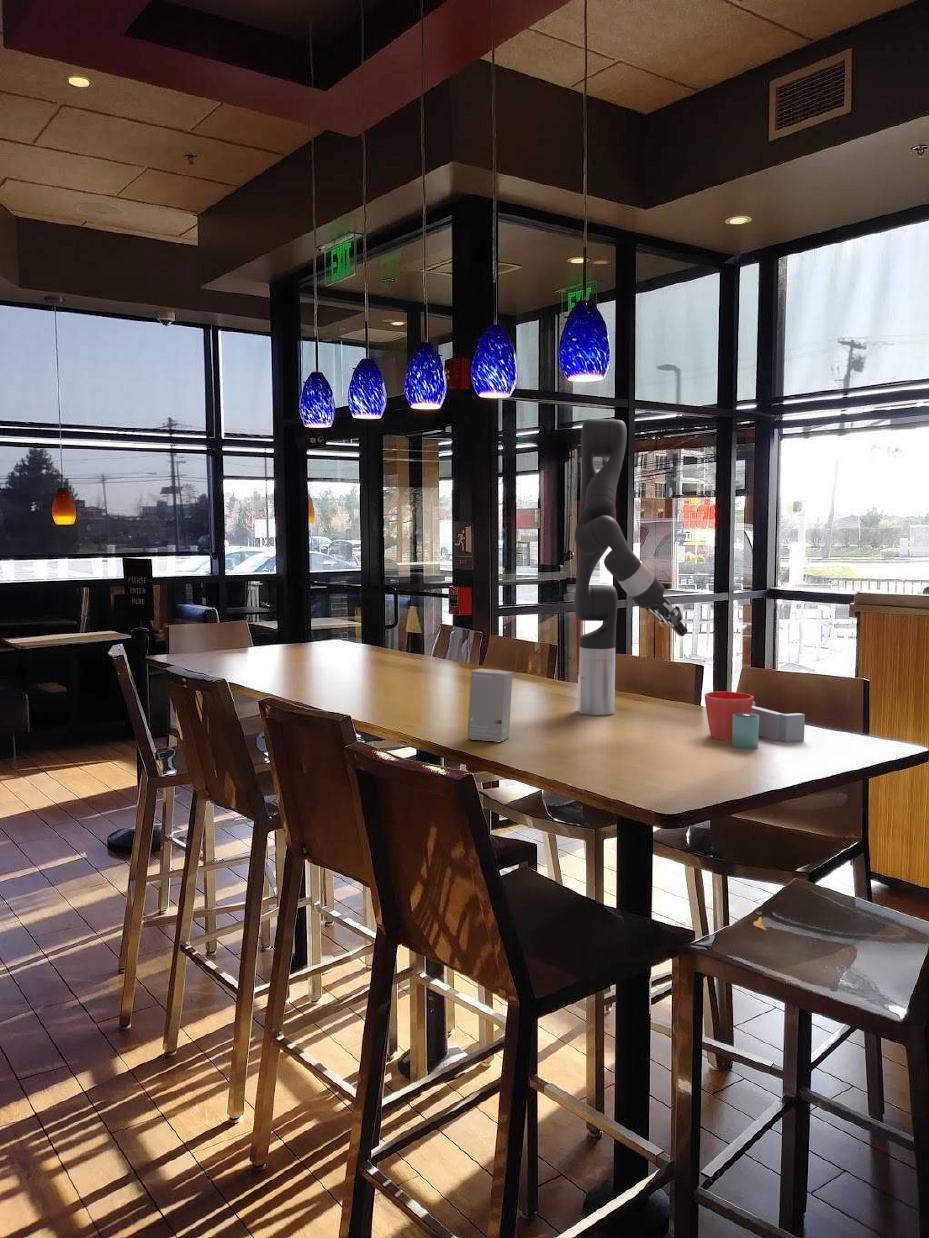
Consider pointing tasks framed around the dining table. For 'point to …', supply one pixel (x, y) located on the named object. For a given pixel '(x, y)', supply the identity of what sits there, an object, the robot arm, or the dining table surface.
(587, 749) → the dining table surface
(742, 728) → the tumbler
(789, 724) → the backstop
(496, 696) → the skincare box
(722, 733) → the flower pot
